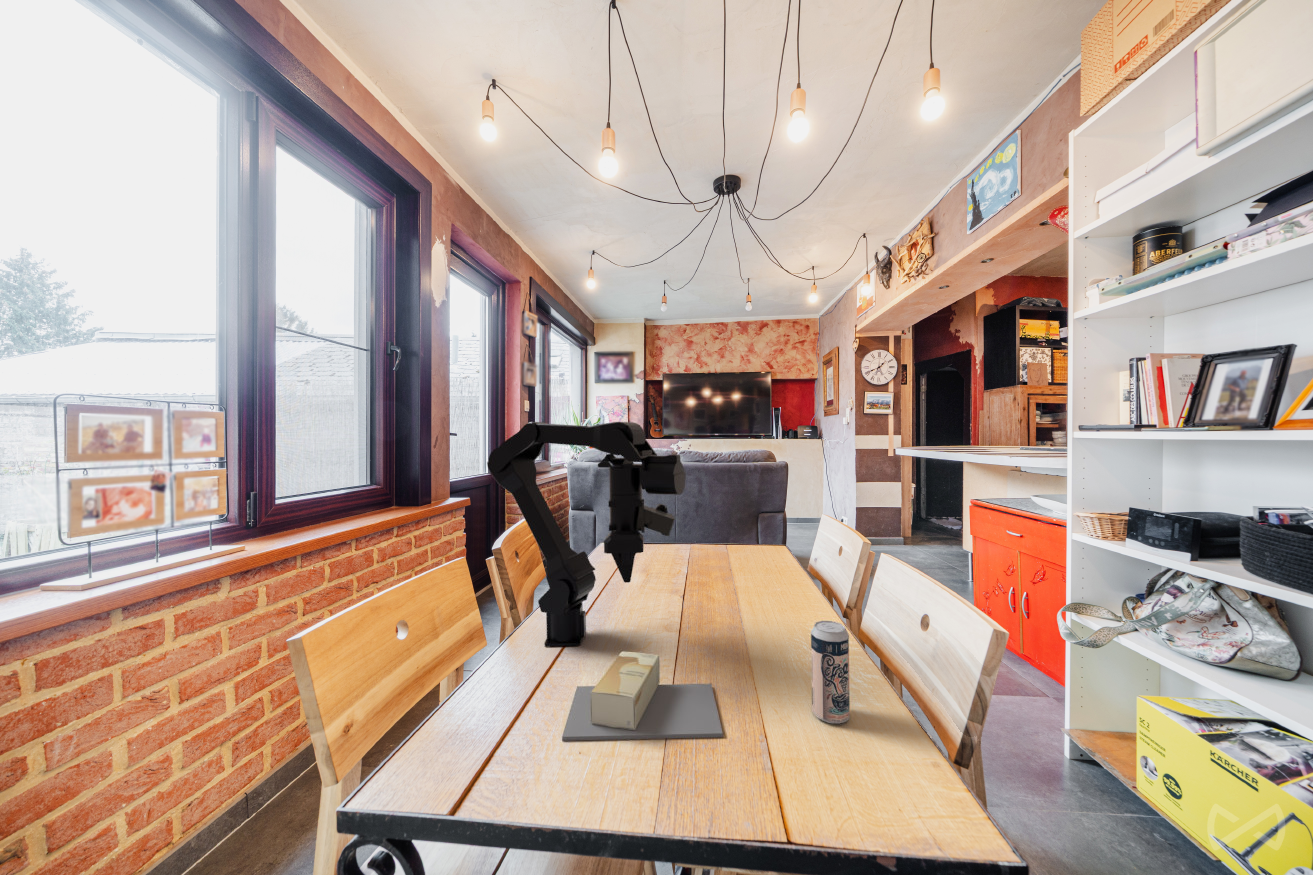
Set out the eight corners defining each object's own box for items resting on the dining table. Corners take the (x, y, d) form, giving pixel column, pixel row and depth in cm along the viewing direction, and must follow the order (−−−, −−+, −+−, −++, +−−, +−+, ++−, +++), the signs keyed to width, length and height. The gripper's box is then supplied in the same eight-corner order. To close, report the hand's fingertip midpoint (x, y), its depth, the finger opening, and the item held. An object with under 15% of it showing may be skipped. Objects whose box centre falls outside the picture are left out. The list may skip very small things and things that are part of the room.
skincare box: (659, 654, 73) (637, 697, 61) (660, 682, 73) (637, 731, 61) (619, 650, 74) (589, 691, 62) (619, 678, 74) (589, 725, 62)
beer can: (832, 730, 61) (830, 636, 61) (804, 711, 65) (803, 623, 65) (858, 720, 63) (857, 628, 63) (829, 702, 68) (828, 616, 67)
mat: (562, 740, 60) (562, 736, 60) (577, 689, 72) (577, 686, 72) (722, 737, 60) (722, 733, 60) (711, 686, 72) (711, 683, 72)
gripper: (674, 499, 76) (675, 599, 76) (669, 486, 94) (671, 566, 94) (602, 500, 76) (604, 600, 76) (612, 487, 94) (613, 567, 94)
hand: (627, 581), depth 85 cm, fingers closed
